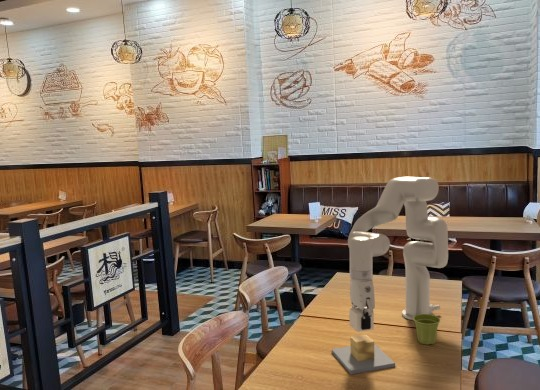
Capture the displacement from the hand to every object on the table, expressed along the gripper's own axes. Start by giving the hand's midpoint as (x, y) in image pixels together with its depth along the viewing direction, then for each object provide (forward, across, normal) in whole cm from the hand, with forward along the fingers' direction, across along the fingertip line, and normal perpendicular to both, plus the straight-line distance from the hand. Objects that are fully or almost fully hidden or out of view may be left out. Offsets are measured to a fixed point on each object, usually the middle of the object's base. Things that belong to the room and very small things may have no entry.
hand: (361, 324), depth 157 cm
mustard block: (+11, 0, 0) cm, 11 cm away
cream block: (+1, 0, 0) cm, 1 cm away
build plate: (+12, 0, 0) cm, 12 cm away
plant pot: (+12, +5, -28) cm, 31 cm away
